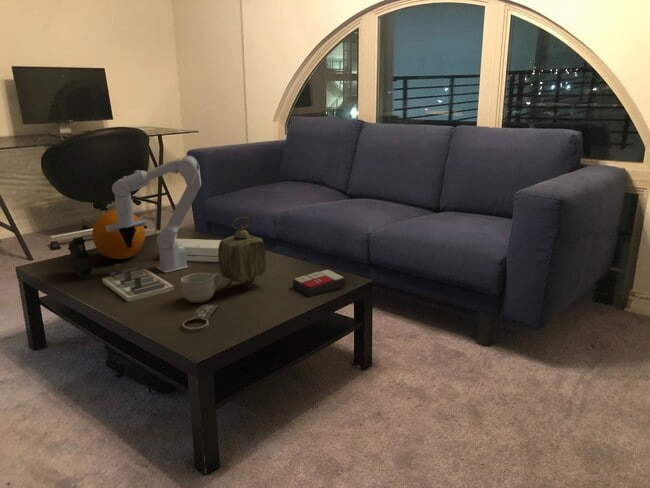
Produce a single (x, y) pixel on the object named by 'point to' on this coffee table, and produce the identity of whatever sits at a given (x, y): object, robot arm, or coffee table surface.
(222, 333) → the coffee table surface
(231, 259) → the tabletop clock
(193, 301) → the teacup
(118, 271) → the block
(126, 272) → the breaker mid
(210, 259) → the laminator
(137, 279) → the breaker
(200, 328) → the metal bottle opener
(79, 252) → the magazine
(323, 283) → the red white labeled box
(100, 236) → the decorative sphere
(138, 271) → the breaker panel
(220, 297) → the coffee table surface
